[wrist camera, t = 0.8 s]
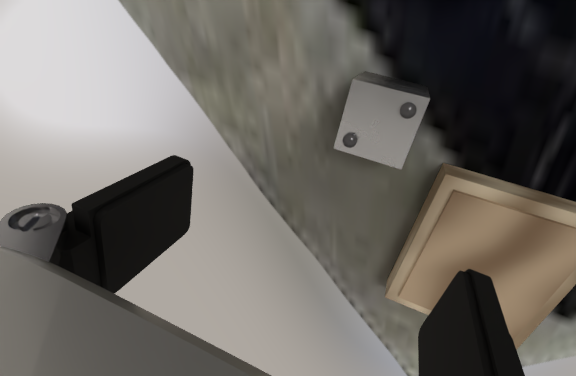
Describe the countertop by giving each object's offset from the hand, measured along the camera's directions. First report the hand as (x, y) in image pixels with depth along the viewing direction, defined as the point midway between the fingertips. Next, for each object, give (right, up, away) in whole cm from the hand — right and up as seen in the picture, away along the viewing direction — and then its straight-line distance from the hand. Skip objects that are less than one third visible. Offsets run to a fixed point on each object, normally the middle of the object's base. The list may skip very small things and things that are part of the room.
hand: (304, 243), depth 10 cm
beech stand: (+17, -4, +18) cm, 25 cm away
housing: (+8, +9, +16) cm, 19 cm away
